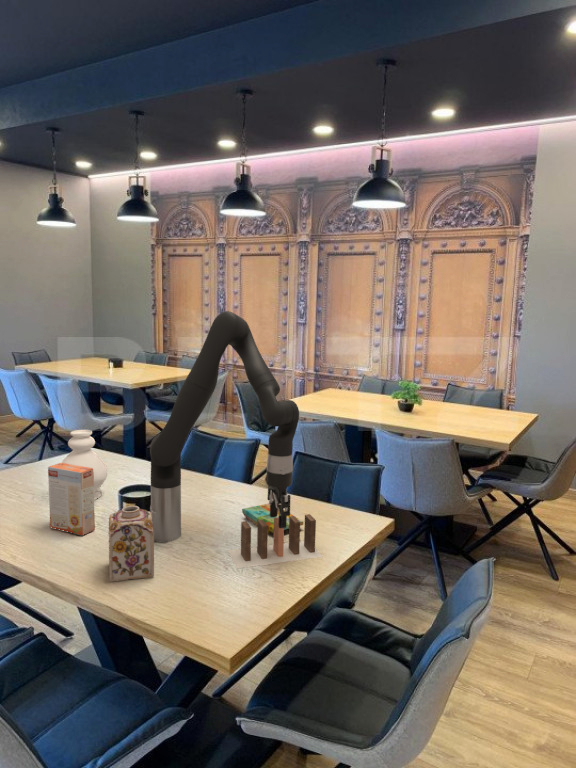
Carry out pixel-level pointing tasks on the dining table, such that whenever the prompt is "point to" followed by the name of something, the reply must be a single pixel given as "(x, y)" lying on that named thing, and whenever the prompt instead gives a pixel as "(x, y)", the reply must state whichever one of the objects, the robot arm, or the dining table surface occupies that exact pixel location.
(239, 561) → the mat
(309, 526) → the domino
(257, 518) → the puzzle game
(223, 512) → the dining table surface
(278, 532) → the domino
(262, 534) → the domino
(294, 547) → the domino
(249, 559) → the domino
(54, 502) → the cracker box
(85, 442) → the decorative vase
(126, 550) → the decorative jar
